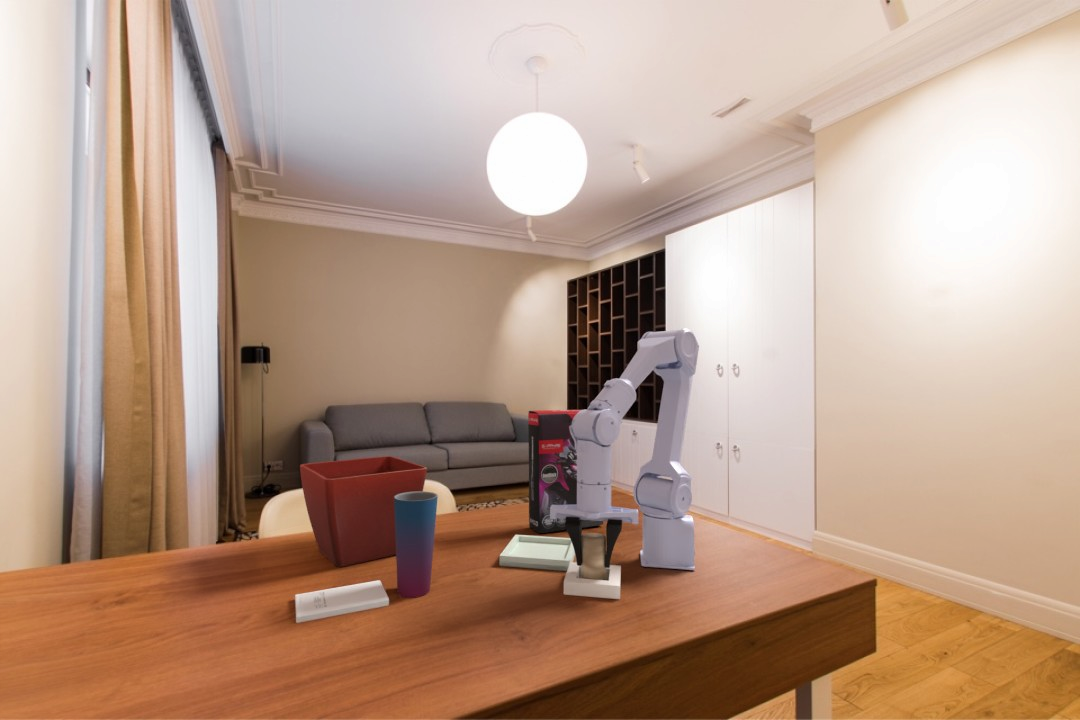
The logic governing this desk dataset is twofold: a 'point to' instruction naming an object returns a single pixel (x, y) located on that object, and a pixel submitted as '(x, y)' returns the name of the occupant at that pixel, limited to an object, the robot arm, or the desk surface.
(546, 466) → the graphics card box
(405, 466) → the plant pot
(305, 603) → the external hard drive
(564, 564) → the tray
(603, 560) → the peg
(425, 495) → the cup
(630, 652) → the desk surface
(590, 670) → the desk surface
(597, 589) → the pin holder
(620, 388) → the robot arm
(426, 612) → the desk surface
